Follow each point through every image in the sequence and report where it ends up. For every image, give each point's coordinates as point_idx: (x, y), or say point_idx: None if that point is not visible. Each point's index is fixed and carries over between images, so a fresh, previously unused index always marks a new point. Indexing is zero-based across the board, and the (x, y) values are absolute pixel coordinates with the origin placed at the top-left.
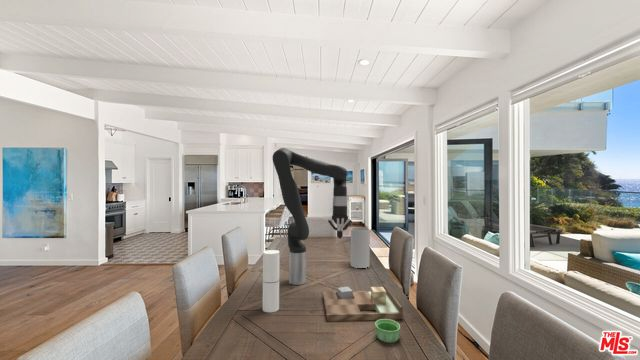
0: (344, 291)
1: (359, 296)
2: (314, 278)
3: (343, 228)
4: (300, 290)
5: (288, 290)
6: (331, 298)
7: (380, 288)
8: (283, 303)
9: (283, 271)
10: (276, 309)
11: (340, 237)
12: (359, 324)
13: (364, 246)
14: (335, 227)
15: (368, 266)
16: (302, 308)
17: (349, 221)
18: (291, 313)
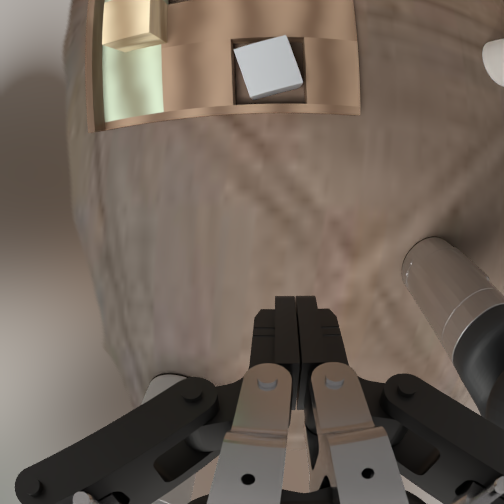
0: (273, 40)
1: (207, 60)
2: (363, 302)
3: (226, 411)
4: (430, 185)
5: (464, 190)
6: (329, 43)
7: (115, 24)
8: (476, 87)
9: (441, 355)
10: (487, 43)
11: (287, 298)
12: None
13: None
14: (405, 411)
15: (151, 381)
16: (422, 36)
17: (56, 501)
18: (447, 16)
